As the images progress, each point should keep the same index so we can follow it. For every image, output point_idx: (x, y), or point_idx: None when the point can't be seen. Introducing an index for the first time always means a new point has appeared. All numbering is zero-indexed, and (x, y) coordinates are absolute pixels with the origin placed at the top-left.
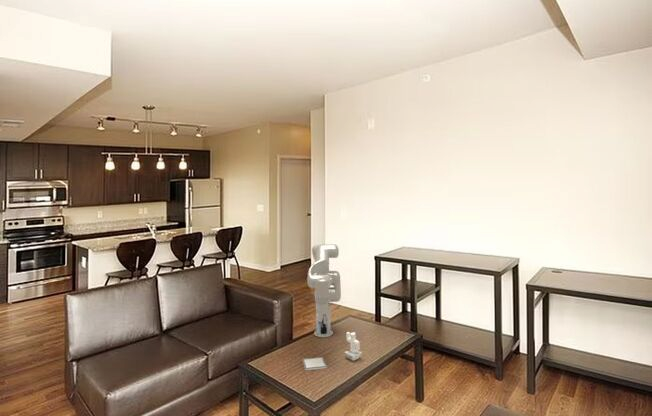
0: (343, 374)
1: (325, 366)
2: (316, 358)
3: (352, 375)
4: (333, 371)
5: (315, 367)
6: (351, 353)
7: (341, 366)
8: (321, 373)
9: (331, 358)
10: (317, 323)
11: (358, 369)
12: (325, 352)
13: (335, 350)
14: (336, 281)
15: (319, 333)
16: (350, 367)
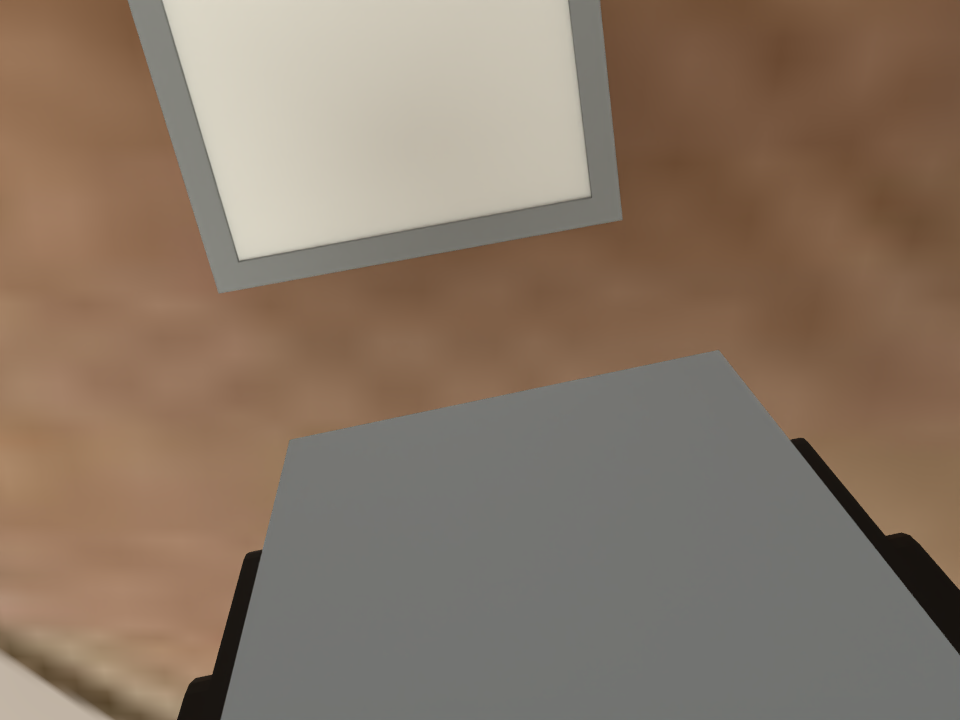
0: (36, 524)
1: (214, 265)
2: (568, 86)
3: (25, 634)
4: (116, 384)
5: (155, 67)
6: None
7: None
8: (13, 181)
9: (594, 359)
10: (939, 635)
11: None
12: (851, 258)
13: (888, 427)
14: None
15: (282, 481)
16: None
